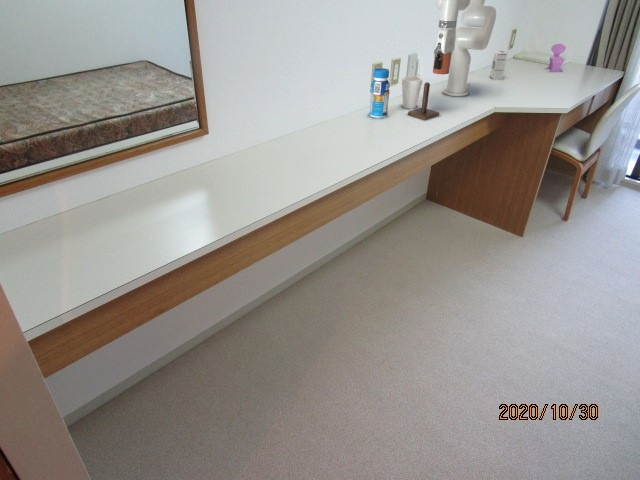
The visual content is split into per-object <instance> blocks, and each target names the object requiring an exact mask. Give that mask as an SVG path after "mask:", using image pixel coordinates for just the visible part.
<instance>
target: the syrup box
mask: <svg viewBox="0 0 640 480" xmlns="http://www.w3.org/2000/svg"><path fill="white" fill-rule="evenodd" d="M507 58H508V52H506V51H505V50H494V54H493V59H492V63H491V64H492V65H491V70H490V74H489V77H490V78H491V79H492V80H503V78H504V72H505V67H506V63H507Z"/></svg>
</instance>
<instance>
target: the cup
mask: <svg viewBox="0 0 640 480" xmlns="http://www.w3.org/2000/svg"><path fill="white" fill-rule="evenodd" d="M439 52H440V51H439ZM440 55H441V54H439V56H440ZM451 57H452V52H449V53H447V54H443V56H442V59H441V60H442V64H441V69H440V70H439V69H434V65H432V74H435V75H449V71H450V64H451ZM434 63H435V57H434V60H433V64H434Z"/></svg>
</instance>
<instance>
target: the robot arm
mask: <svg viewBox="0 0 640 480" xmlns="http://www.w3.org/2000/svg"><path fill="white" fill-rule="evenodd" d="M485 1H486V0H435V5H436V7H437V8H438V9H439V10H440V11H439V19H438V26H437V29H438V31H437V36H436V41H435V47H434V51H433V54H434V58H435V63H434V62H433V66H434V69H439V70H440V69H441V64H442V60H441V59H442V56H443V54H447V53H449V52H452V57H451V64H450V70H449V74H448V77H447V78H448V79H447V85H446V88H444V89H443V90H442V92H443V94H444V95H446V96H450V97H465V96H468V95H469V91H468V90H467V88H470V87H471V83H468V77H469V72H470V67H471V66H470V65H471V61H472V57H471V54H470V51H469V50H475V51H484V50H485V49H487V47H488V45H489V43H490V40H491V37H492V33H493V30H494V27H495V24H496V20H497V10H496V8H495V7H494V6H491V5H485ZM459 11H463V12H462V13H461V14H462V15H461V24H462V26H461V27H457V24H458V17H459ZM439 51H440V52H439ZM439 54H441V55H440V56H439Z"/></svg>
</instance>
